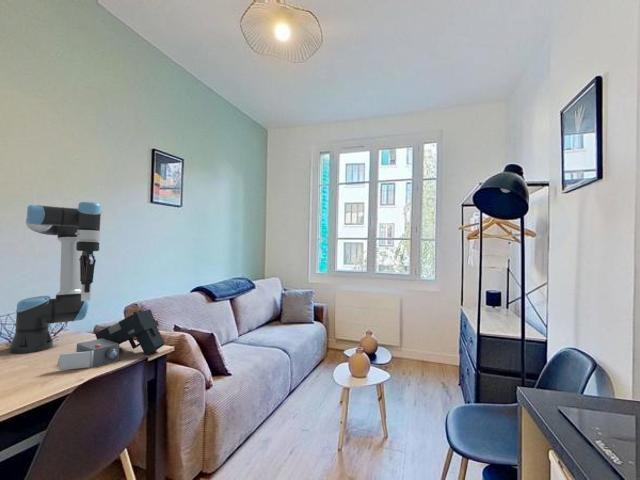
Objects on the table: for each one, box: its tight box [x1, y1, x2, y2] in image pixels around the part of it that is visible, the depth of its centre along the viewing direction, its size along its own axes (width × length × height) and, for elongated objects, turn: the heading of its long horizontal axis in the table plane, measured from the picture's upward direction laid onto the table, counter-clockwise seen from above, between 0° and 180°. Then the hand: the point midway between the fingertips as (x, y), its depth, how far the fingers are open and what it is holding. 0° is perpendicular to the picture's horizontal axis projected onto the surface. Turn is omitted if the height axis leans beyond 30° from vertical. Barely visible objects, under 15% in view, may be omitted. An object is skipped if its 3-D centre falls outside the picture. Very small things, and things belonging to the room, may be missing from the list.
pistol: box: [94, 308, 166, 356], centre depth 154 cm, size 10×27×20 cm, turn 79°
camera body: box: [75, 338, 120, 368], centre depth 139 cm, size 16×10×8 cm, turn 59°
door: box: [57, 350, 94, 371], centre depth 130 cm, size 11×2×6 cm, turn 114°
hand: (85, 300), depth 132 cm, fingers closed
